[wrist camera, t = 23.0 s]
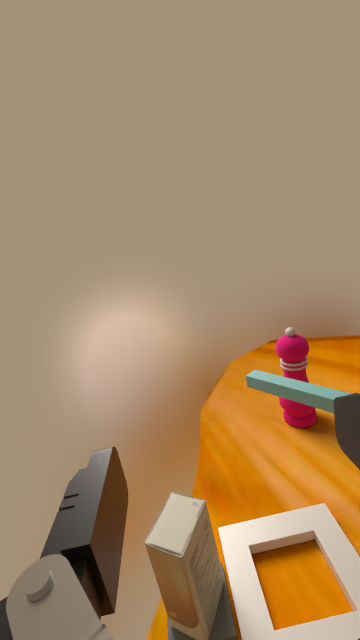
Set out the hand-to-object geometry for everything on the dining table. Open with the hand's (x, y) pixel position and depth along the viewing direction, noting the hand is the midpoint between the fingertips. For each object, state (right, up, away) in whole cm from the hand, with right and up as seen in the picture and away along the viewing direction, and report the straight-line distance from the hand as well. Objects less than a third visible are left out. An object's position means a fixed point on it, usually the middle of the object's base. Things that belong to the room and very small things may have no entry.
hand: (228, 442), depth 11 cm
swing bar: (+16, -6, +26) cm, 31 cm away
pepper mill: (+23, -16, +50) cm, 58 cm away
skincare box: (0, -28, +22) cm, 35 cm away
